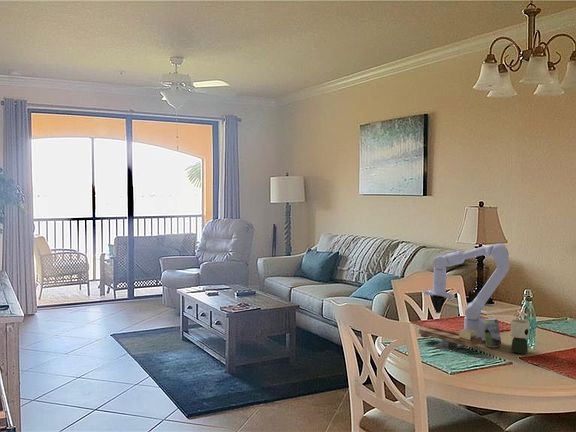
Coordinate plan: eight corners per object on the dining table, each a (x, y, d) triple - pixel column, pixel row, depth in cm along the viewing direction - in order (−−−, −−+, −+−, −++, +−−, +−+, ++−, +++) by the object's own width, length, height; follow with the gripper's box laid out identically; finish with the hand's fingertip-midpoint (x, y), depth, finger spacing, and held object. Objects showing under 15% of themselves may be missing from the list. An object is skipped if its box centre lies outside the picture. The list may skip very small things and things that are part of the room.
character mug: (526, 357, 220) (527, 325, 219) (507, 354, 224) (508, 322, 223) (531, 350, 229) (532, 319, 228) (512, 348, 233) (513, 317, 232)
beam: (482, 346, 228) (483, 336, 228) (471, 350, 223) (471, 340, 222) (430, 333, 247) (430, 324, 247) (418, 336, 241) (418, 327, 241)
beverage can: (498, 349, 230) (499, 321, 230) (480, 346, 235) (481, 318, 234) (503, 346, 235) (503, 318, 235) (485, 343, 240) (486, 315, 239)
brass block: (476, 340, 228) (477, 330, 228) (470, 342, 225) (470, 332, 225) (465, 337, 232) (466, 328, 232) (459, 340, 229) (459, 330, 228)
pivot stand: (466, 345, 236) (466, 338, 236) (449, 351, 228) (449, 344, 227) (449, 341, 242) (449, 334, 242) (432, 347, 234) (432, 340, 233)
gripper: (420, 281, 253) (419, 310, 254) (448, 286, 242) (447, 317, 243) (429, 279, 258) (428, 308, 259) (457, 284, 247) (456, 314, 248)
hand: (438, 312), depth 251 cm, fingers closed
